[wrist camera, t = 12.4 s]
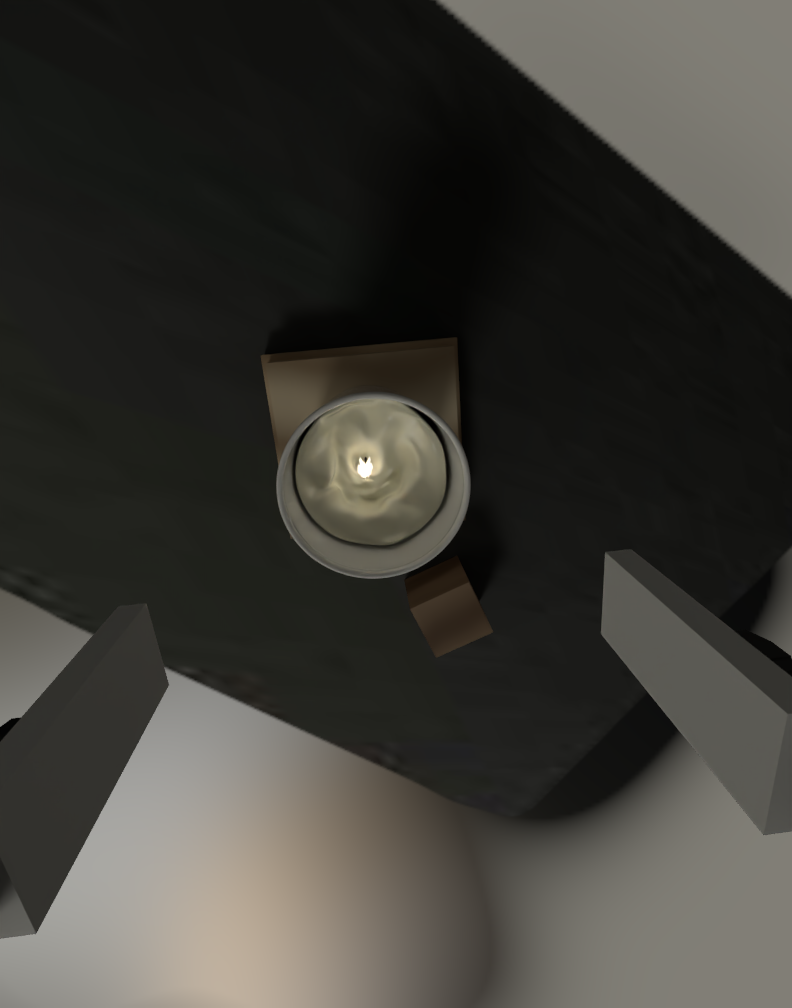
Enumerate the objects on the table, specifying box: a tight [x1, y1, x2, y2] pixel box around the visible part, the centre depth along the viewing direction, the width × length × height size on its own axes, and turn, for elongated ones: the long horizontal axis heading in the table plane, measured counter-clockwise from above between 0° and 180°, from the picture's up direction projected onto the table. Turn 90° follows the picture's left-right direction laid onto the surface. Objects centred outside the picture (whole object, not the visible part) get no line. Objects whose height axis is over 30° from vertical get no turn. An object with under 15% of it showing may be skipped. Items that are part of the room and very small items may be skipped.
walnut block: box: [405, 556, 493, 658], centre depth 42 cm, size 5×5×5 cm
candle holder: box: [276, 385, 471, 578], centre depth 31 cm, size 10×10×12 cm
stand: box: [261, 337, 465, 538], centre depth 39 cm, size 14×14×3 cm
